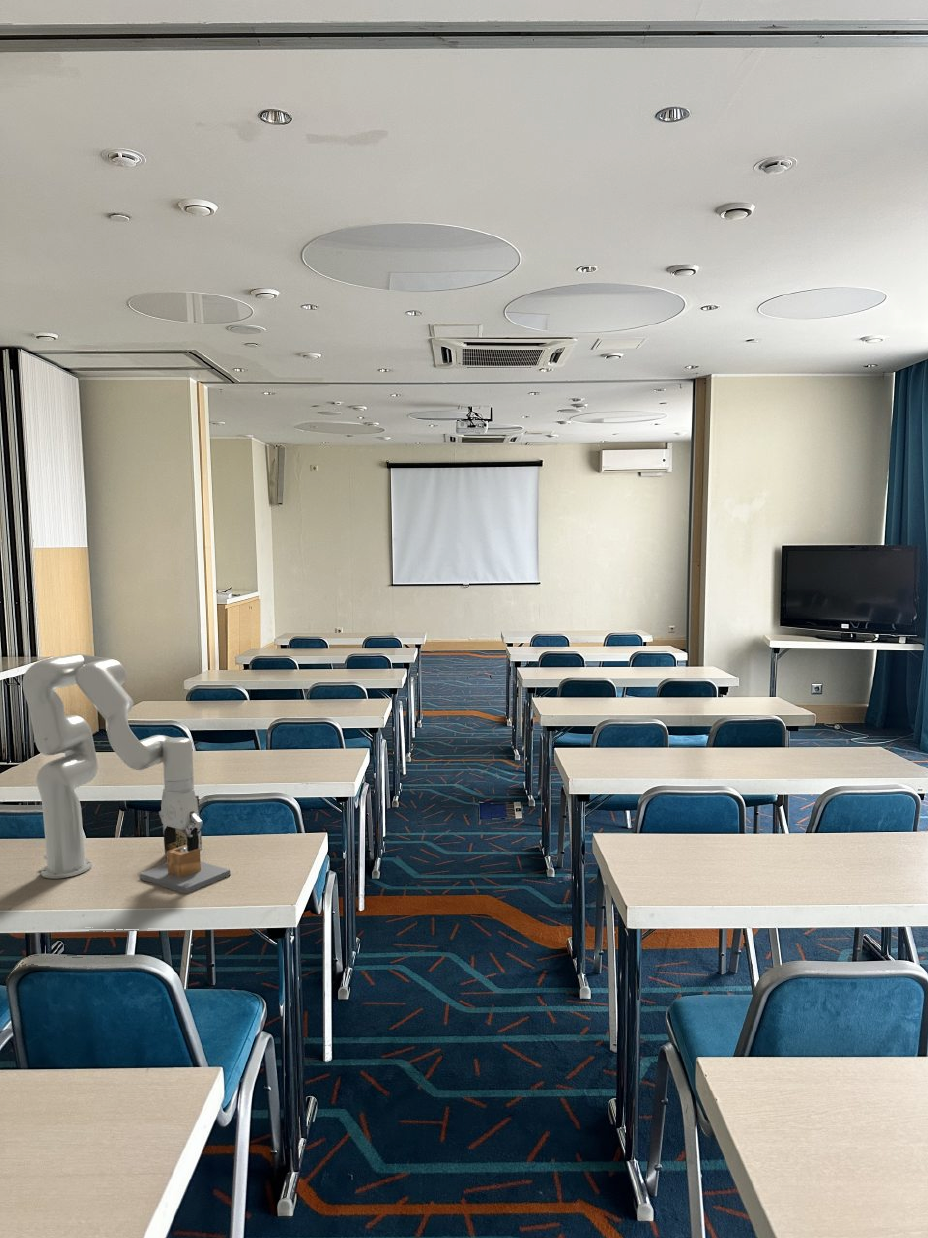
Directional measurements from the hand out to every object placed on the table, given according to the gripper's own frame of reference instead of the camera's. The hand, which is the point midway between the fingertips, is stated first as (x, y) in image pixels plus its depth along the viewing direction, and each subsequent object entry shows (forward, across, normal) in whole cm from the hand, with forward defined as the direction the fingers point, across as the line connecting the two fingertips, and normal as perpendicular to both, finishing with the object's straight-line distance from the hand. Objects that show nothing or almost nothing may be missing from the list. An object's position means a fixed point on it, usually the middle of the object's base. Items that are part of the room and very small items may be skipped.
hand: (181, 846), depth 221 cm
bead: (+7, +1, 0) cm, 7 cm away
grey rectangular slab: (+8, +1, 0) cm, 8 cm away
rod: (+7, +1, 0) cm, 7 cm away
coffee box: (+9, -16, +12) cm, 22 cm away
